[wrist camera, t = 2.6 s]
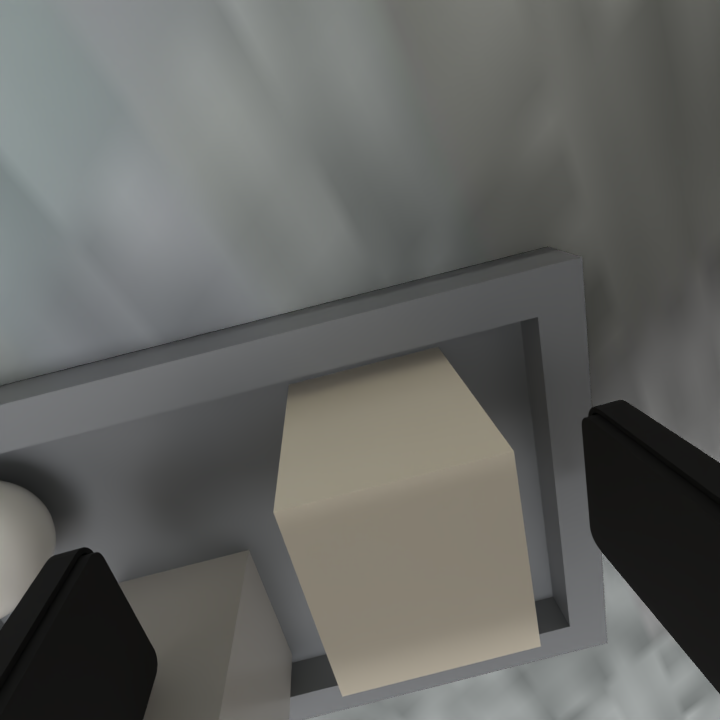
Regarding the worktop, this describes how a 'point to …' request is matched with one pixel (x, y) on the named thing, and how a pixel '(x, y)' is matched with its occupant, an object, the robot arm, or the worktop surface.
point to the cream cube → (403, 522)
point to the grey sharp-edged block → (213, 642)
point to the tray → (265, 431)
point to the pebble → (22, 542)
